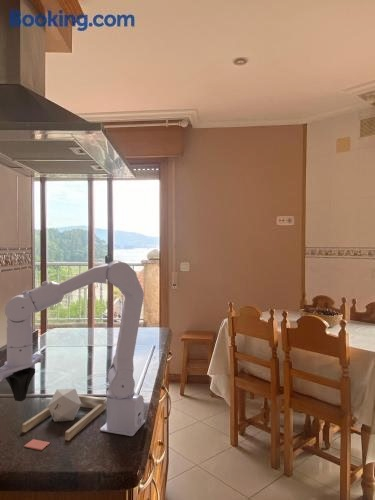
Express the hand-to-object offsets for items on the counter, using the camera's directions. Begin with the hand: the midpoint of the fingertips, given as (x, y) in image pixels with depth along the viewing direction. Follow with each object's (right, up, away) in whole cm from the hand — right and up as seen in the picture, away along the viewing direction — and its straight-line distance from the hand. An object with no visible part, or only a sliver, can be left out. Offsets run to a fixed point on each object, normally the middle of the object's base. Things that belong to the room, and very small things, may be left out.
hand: (20, 399), depth 87 cm
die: (+7, -11, +12) cm, 17 cm away
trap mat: (+5, -10, -1) cm, 12 cm away
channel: (+7, -10, +11) cm, 17 cm away
